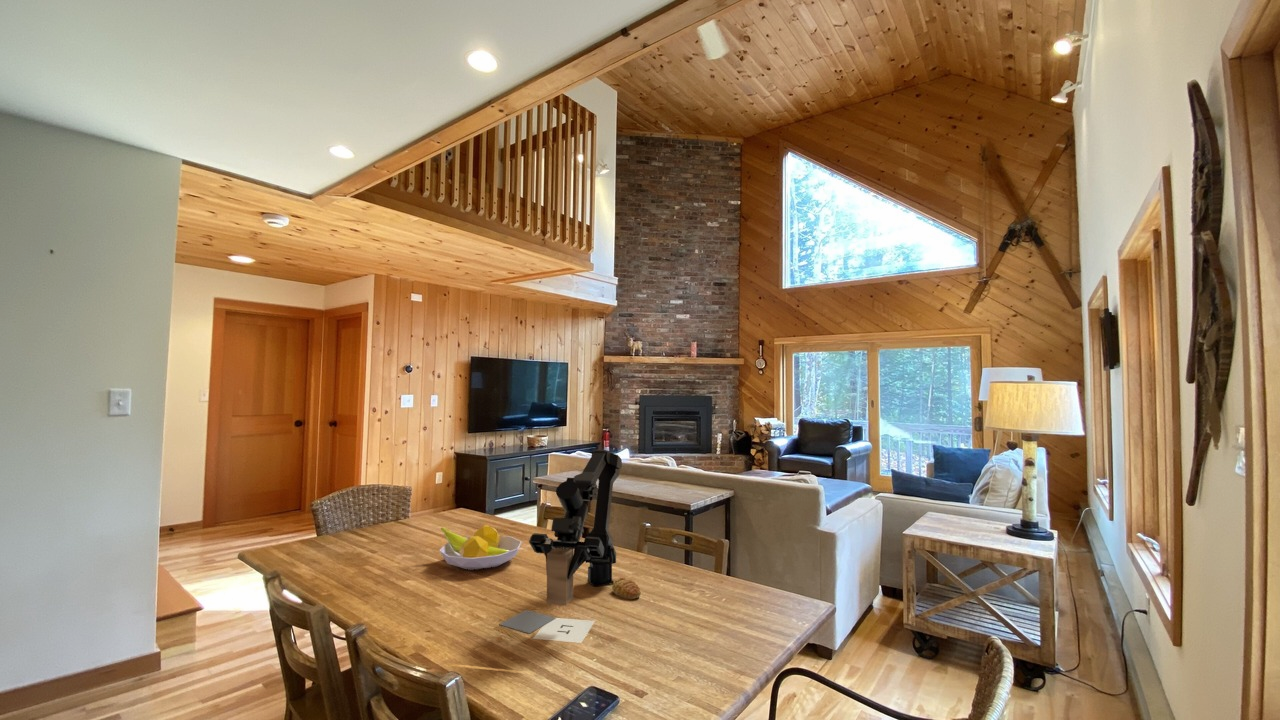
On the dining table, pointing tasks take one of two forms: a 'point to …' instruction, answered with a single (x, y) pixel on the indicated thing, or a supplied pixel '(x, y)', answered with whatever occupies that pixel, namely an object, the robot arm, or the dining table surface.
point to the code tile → (565, 630)
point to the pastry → (626, 588)
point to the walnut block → (559, 576)
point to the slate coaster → (527, 621)
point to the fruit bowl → (479, 549)
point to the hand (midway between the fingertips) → (558, 577)
